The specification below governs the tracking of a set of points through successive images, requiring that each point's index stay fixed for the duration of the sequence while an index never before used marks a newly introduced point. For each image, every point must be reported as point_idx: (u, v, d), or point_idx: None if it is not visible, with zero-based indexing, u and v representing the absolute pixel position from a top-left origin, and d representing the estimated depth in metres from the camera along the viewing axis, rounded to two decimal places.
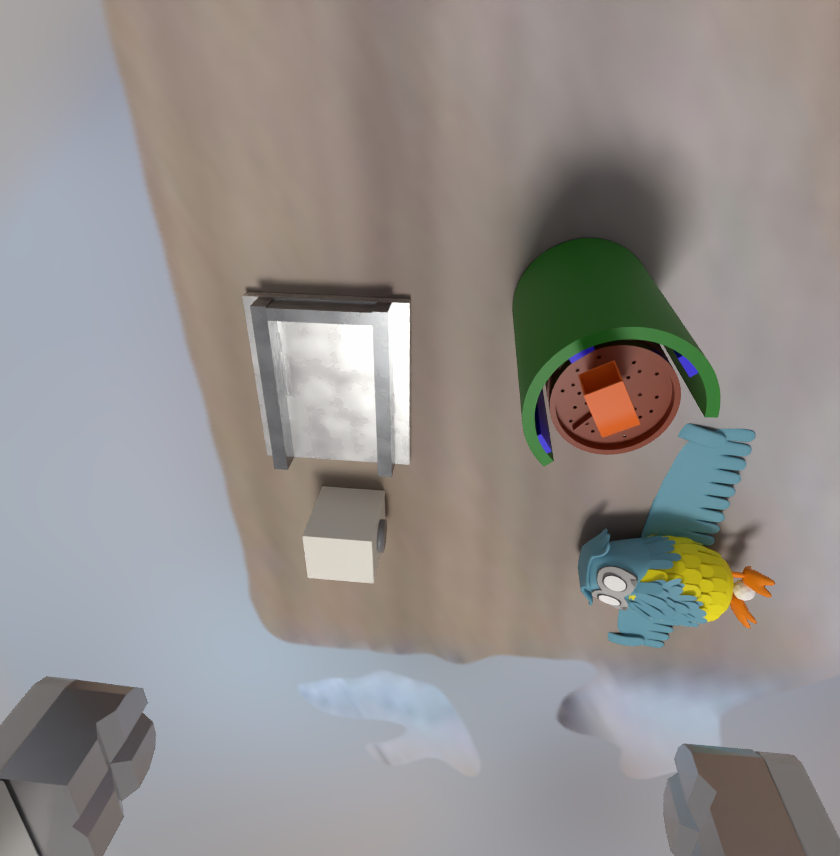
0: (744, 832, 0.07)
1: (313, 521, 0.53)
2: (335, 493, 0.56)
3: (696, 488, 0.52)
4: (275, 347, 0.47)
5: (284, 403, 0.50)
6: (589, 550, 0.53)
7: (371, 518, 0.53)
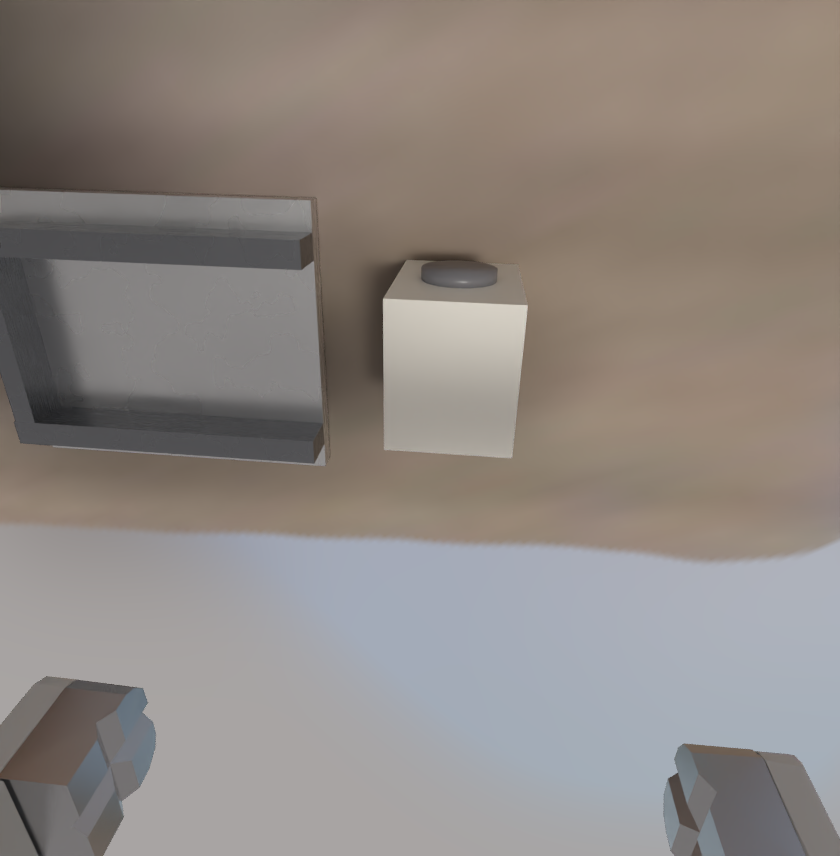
0: (744, 832, 0.07)
1: None
2: None
3: None
4: (96, 418, 0.30)
5: (202, 421, 0.30)
6: None
7: None
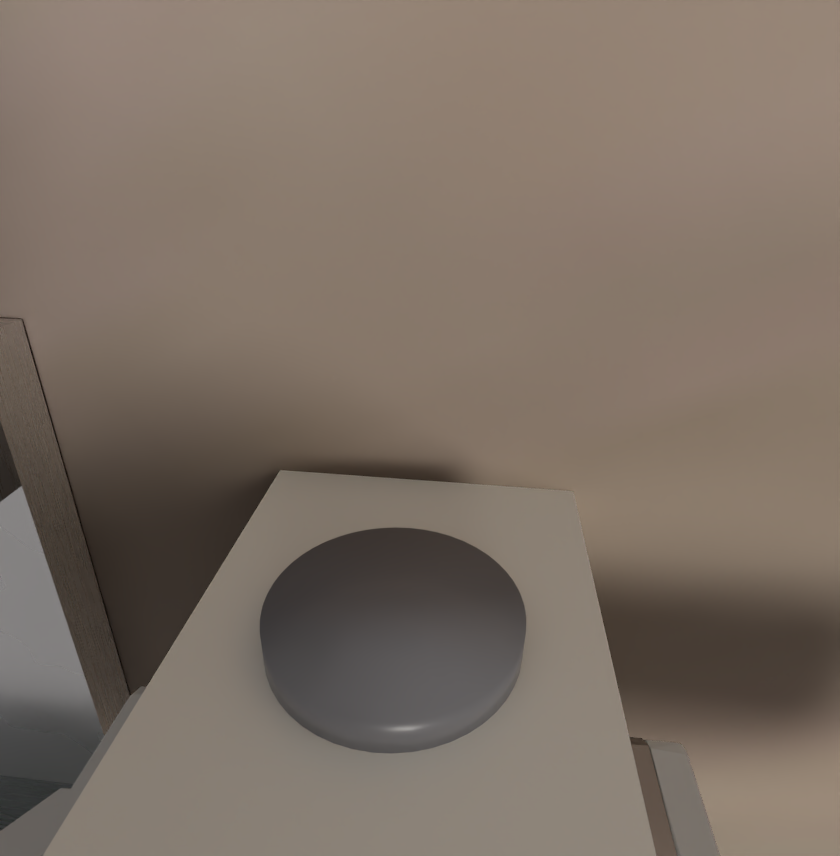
0: None
1: None
2: None
3: None
4: None
5: None
6: None
7: None
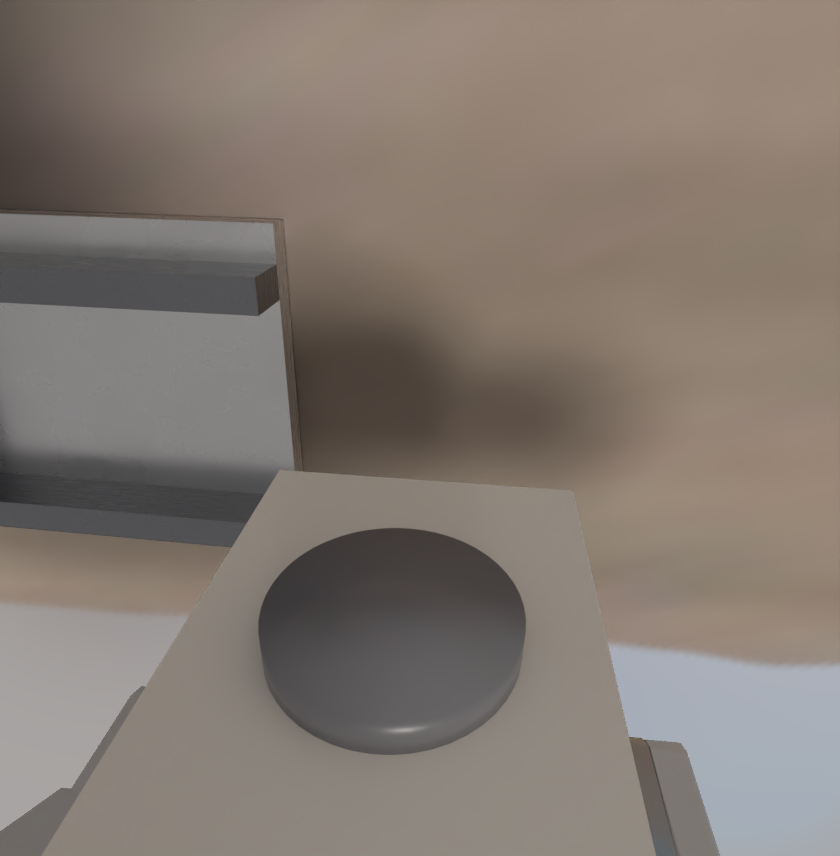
0: None
1: None
2: None
3: None
4: (17, 489, 0.24)
5: (147, 494, 0.24)
6: None
7: None
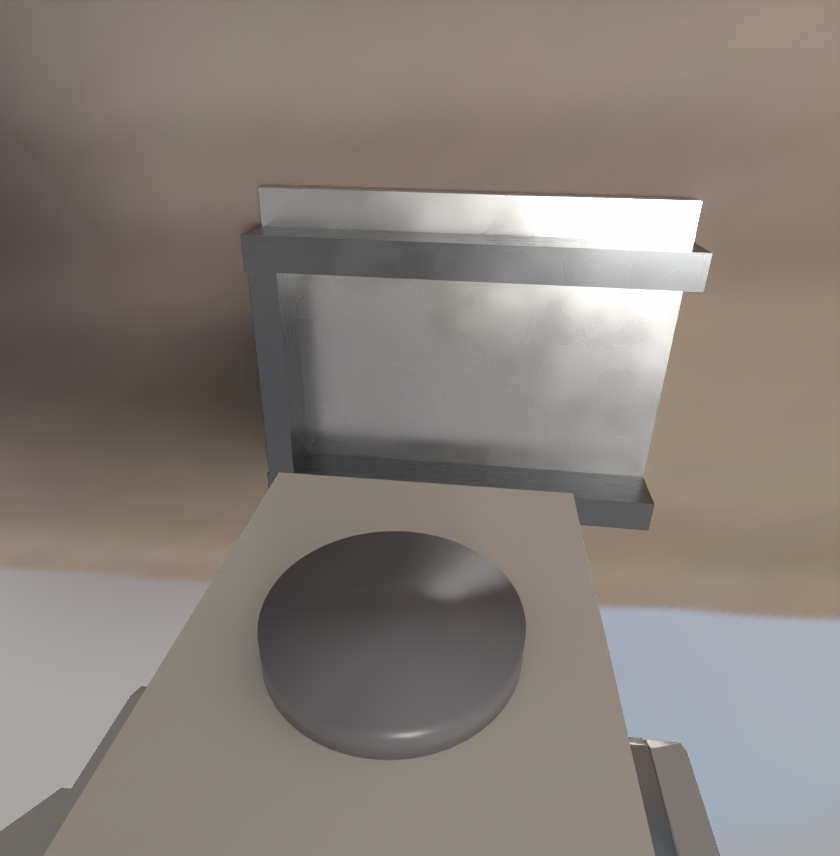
0: None
1: None
2: None
3: None
4: (363, 469, 0.24)
5: (494, 474, 0.24)
6: None
7: None
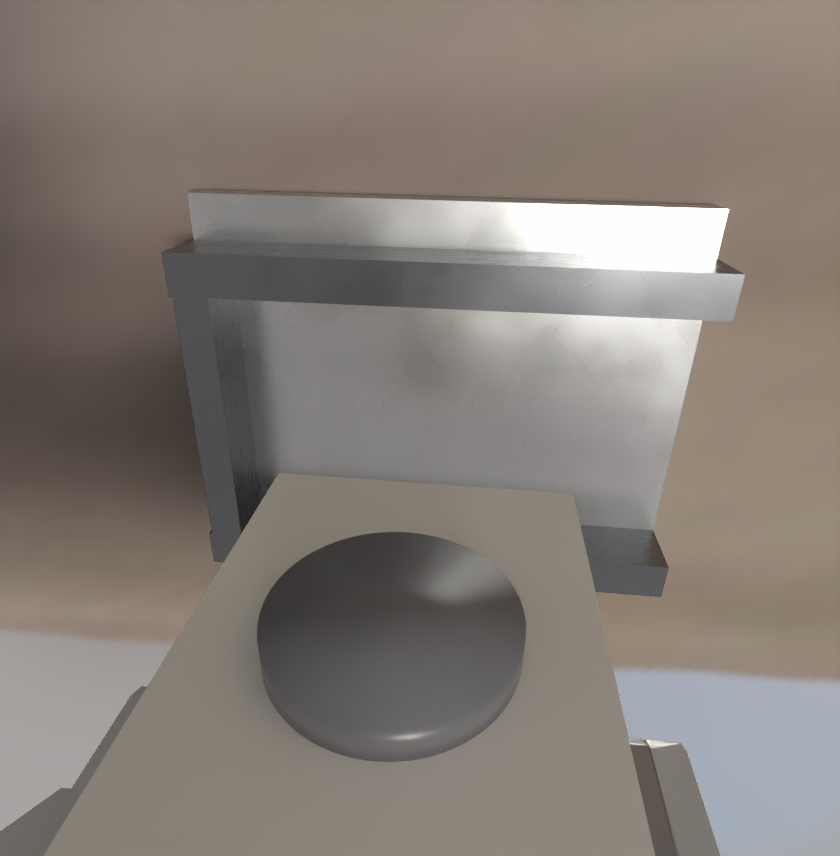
0: None
1: None
2: None
3: None
4: None
5: None
6: None
7: None
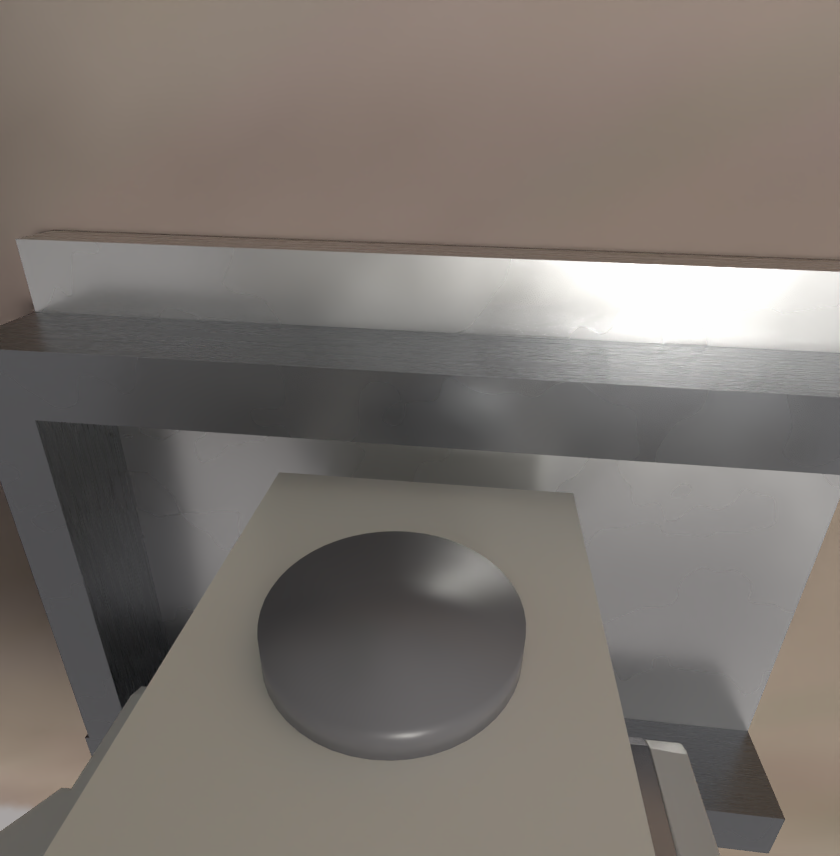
0: None
1: None
2: None
3: None
4: None
5: None
6: None
7: None
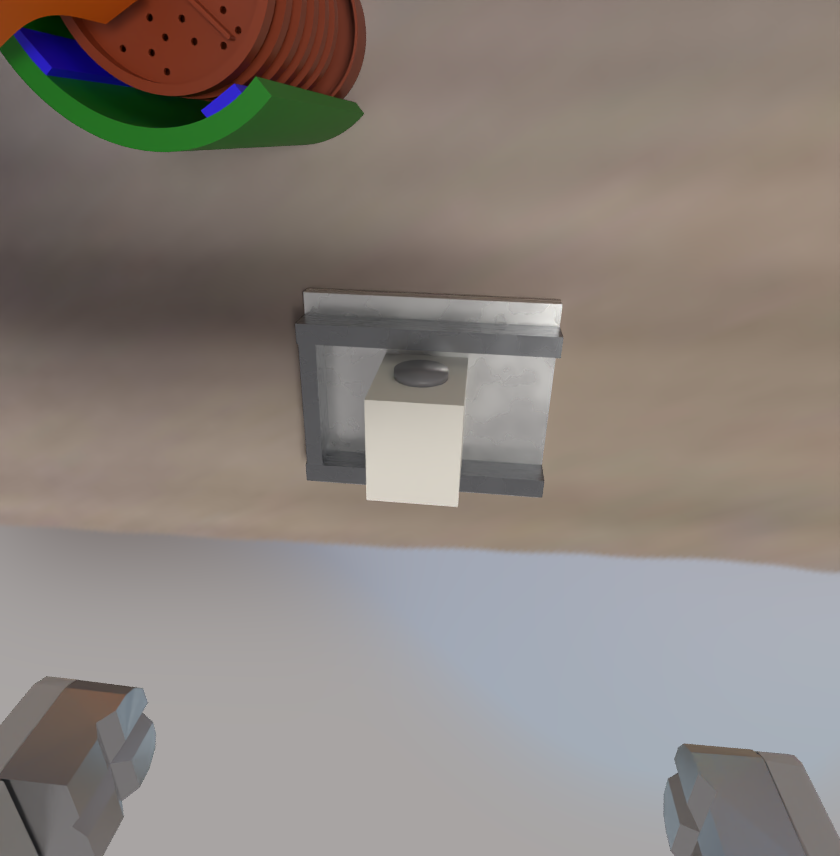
0: (744, 832, 0.07)
1: None
2: None
3: None
4: (365, 461, 0.39)
5: None
6: None
7: None
